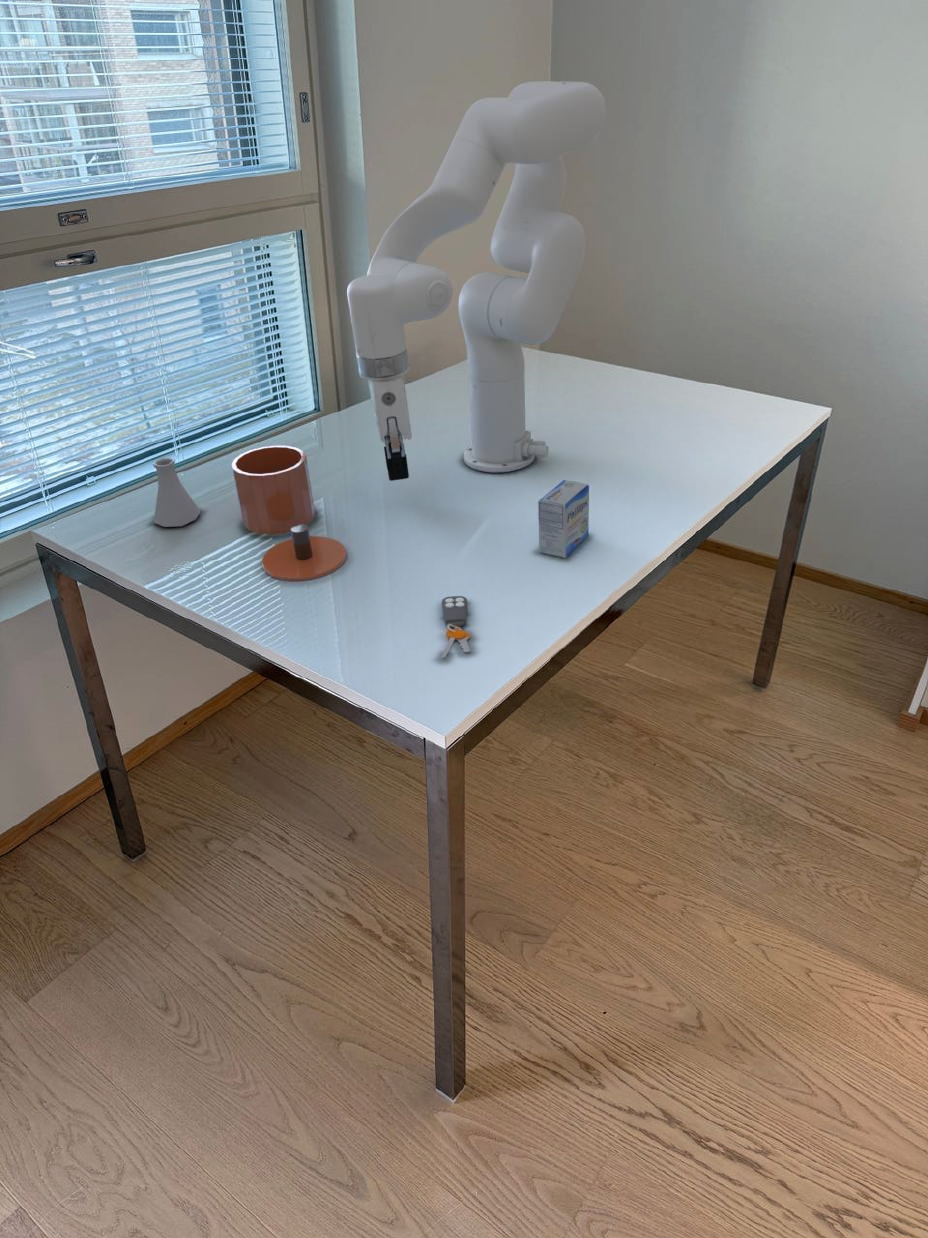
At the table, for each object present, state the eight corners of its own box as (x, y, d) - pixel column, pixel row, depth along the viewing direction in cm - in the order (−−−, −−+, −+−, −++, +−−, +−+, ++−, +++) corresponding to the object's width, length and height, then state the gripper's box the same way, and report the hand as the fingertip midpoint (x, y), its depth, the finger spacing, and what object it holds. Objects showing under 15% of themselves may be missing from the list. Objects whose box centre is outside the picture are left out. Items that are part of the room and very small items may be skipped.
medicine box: (565, 559, 137) (565, 505, 132) (538, 552, 139) (537, 499, 134) (589, 536, 142) (590, 483, 138) (562, 530, 144) (562, 478, 140)
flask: (208, 510, 157) (195, 454, 151) (184, 530, 151) (170, 473, 146) (171, 506, 159) (157, 450, 153) (145, 526, 153) (130, 469, 148)
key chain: (440, 604, 128) (439, 595, 128) (467, 602, 128) (466, 593, 128) (441, 660, 118) (441, 650, 117) (471, 658, 118) (471, 648, 117)
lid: (361, 549, 143) (357, 514, 140) (321, 590, 133) (315, 554, 130) (290, 538, 147) (284, 504, 144) (246, 577, 137) (239, 542, 134)
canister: (328, 509, 155) (319, 449, 149) (292, 541, 146) (281, 479, 140) (268, 500, 159) (257, 442, 153) (229, 532, 150) (216, 471, 144)
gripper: (413, 378, 135) (426, 493, 146) (402, 342, 149) (415, 449, 159) (361, 385, 135) (378, 500, 145) (355, 348, 148) (371, 455, 159)
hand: (397, 472), depth 152 cm, fingers closed on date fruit, 3 cm apart
